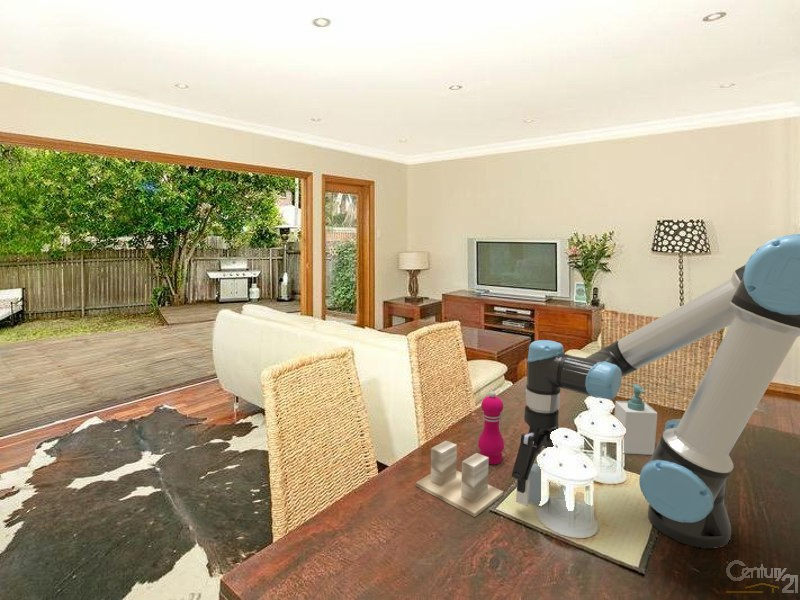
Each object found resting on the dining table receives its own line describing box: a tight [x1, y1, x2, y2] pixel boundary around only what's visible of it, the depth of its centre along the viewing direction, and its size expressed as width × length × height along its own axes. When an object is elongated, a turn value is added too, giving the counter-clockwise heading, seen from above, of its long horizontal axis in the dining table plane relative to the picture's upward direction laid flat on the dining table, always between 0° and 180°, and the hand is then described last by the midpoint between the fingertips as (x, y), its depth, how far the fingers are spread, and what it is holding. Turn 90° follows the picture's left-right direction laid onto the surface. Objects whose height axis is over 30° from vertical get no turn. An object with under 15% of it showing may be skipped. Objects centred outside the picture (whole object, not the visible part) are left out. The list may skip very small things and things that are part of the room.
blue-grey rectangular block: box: [528, 462, 551, 507], centre depth 106 cm, size 4×4×8 cm
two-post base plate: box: [415, 440, 504, 518], centre depth 110 cm, size 18×12×10 cm, turn 46°
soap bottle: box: [614, 383, 658, 456], centre depth 132 cm, size 9×9×19 cm
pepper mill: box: [477, 390, 505, 465], centre depth 125 cm, size 7×7×20 cm
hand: (536, 491), depth 107 cm, fingers open, 13 cm apart
